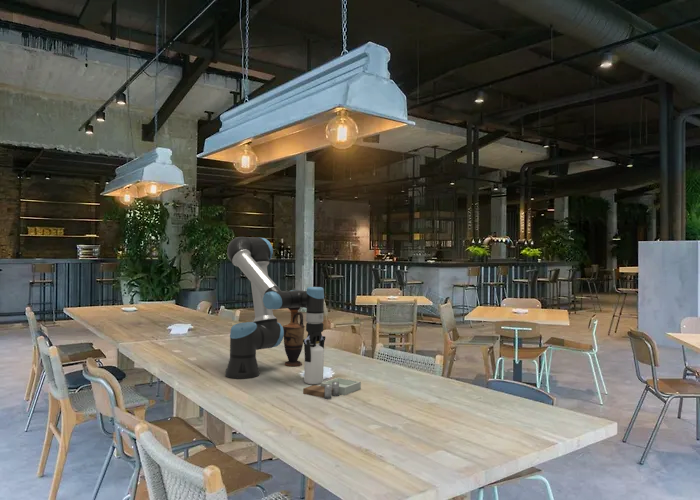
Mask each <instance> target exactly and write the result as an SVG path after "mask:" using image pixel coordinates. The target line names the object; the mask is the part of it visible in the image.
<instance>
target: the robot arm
mask: <svg viewBox="0 0 700 500" xmlns="http://www.w3.org/2000/svg"><path fill="white" fill-rule="evenodd" d="M226 251H227V252H226V254H227V257H228V259H229V261H230V262H231V263H232V265H233V266H235V267H238V268H239V269H240V271H241V272H242V273H243V274H244V275H245V277H246V278H247V279H248V280H249V282H250V286H251V295H252V301H253V310H254V319H253V321H247V322H239V323H235V324H234V325H231V327H230V332H229V333H230V334H229V360H228V364H227V367H226V369H225V377H227V378H230V379H237V380H238V379H240V380H241V379H243V380H244V379H253V378H257V377H258V376H259V375H260V368H259V365H258V361H257V356H256V355H257V351H258V350H265V349H273V348H275V347H278V346H279V345H280V344H281V343H282V341H284V330H283V325H282V324H281V322H278V318H277V317H276V316H275V315H274V312H273V310H276V311H277V310H282V309H283V310H284V309H288V308H296V307H300V308H304V309H305V311H306V314H305V321H306V324H305V332H307V336H306V338H304V339H303V347H304V362H305V361H306V362H311V348H310V347H315V346H316V341H319V346H321V347H323V349H324V350H325V341H326V336H325V335H322V332H324V323H323V322H324V308H325V307H324V306H325V303H324V302H325V292H324V291H325V290H324V287H321V286H308V287H307V288H306V290H300V289H291V290H281V289H280V287H279V286H277V284H276V283H275V282H274V280H273V279H272V278H271V277H270V276H269V274H268V265H269V264H270V260H271V259H272V258H273V254H274V249H273V245H272V243H271V242H270V241H269V240H268V238H267V239H266V238H265V237H259V236H258V237H254V236H253V237H249V236H237V237H235V238H233V239H232V240H231V241H230V242H229V243H228V245H227V249H226ZM310 344H314V345H310Z"/></svg>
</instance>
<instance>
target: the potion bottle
mask: <svg viewBox="0 0 700 500" xmlns="http://www.w3.org/2000/svg"><path fill="white" fill-rule="evenodd" d="M310 345H314V344H310ZM310 348H311V362H306V361H305V360H304V366H303V368H304V370H303V371H304V372H303V373H304V374H303V380H304V383H305V384H308V385H321V383H322V382H324V369H325V368H324V363H325V360H324V359H325V356H324V355H325V354H324V352H325V348H324V349H323V347H321V346H319V341H316V346H315V347H310Z"/></svg>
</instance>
